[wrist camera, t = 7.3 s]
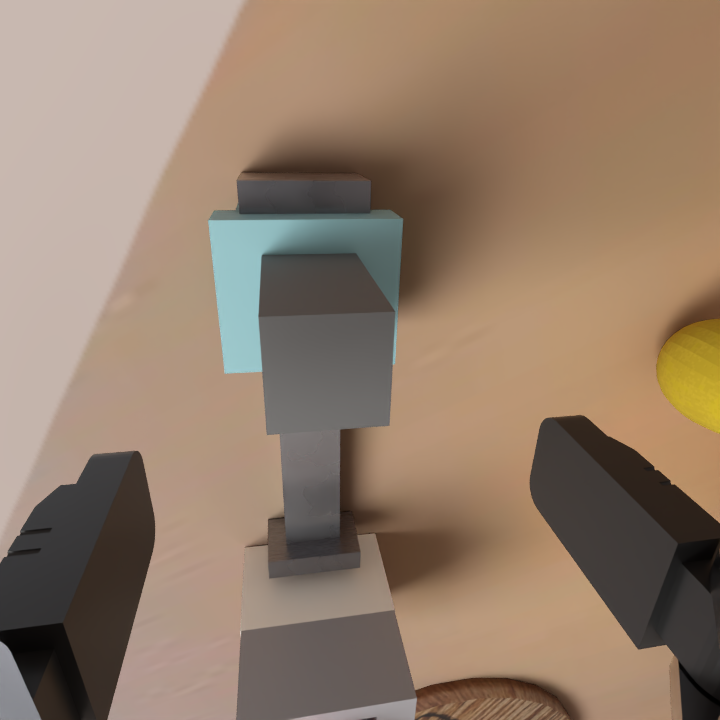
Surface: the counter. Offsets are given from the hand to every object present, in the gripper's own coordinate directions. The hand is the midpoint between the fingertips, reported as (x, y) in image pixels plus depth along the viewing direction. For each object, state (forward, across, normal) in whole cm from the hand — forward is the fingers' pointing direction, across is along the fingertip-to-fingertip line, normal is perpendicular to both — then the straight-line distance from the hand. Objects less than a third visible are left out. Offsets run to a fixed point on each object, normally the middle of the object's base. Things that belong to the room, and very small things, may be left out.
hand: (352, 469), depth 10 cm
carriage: (+14, 0, 0) cm, 14 cm away
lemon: (+15, -21, +5) cm, 26 cm away
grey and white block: (+15, 0, +20) cm, 25 cm away
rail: (+15, 0, +6) cm, 16 cm away
